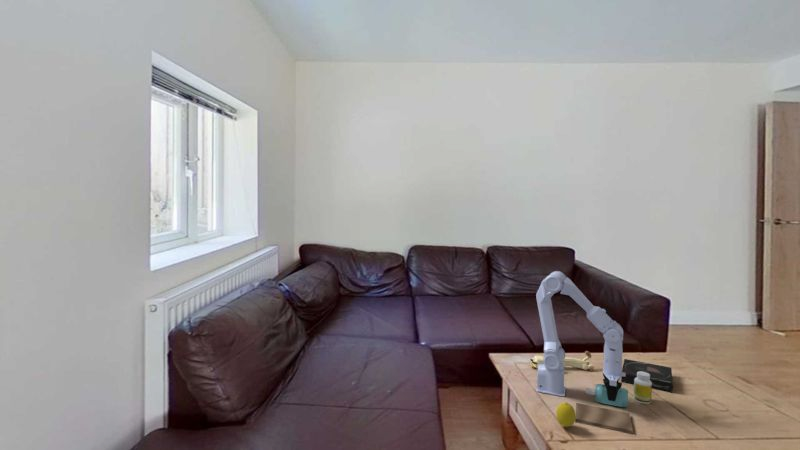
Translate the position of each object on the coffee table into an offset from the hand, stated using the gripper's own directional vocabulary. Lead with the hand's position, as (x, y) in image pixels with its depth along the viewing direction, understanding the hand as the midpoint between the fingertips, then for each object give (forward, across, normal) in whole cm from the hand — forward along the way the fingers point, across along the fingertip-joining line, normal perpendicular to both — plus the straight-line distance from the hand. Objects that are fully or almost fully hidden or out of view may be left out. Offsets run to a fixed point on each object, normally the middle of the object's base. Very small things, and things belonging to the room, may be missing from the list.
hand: (611, 397), depth 141 cm
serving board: (+2, -12, +3) cm, 13 cm away
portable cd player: (+3, +28, -14) cm, 31 cm away
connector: (+2, 0, +2) cm, 2 cm away
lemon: (+2, -22, +14) cm, 26 cm away
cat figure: (+3, +24, +18) cm, 30 cm away
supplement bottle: (+2, +7, -10) cm, 12 cm away
